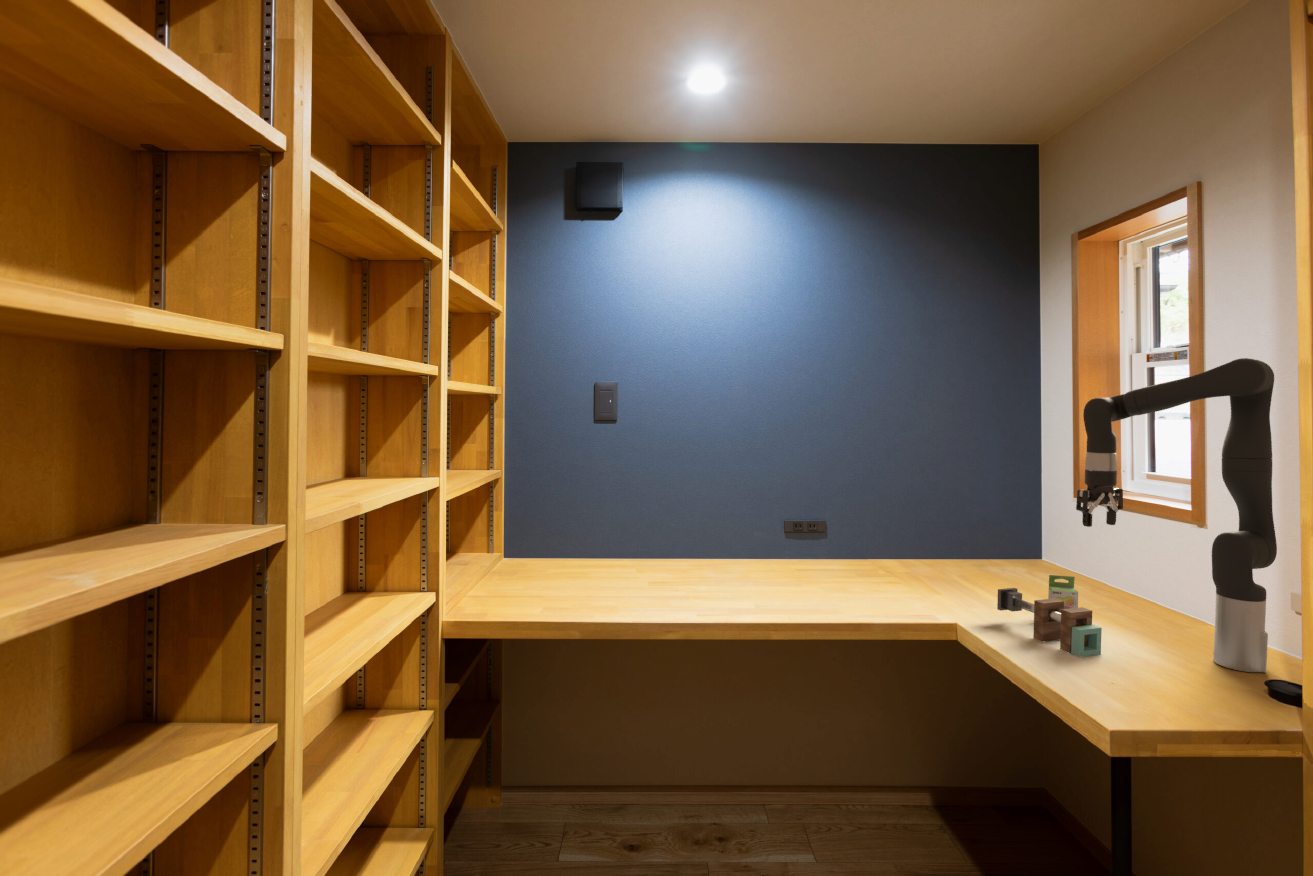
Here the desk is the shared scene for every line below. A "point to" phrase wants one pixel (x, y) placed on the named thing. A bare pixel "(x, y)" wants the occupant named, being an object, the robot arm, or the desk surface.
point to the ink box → (1063, 591)
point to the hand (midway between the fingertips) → (1099, 525)
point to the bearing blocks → (1056, 630)
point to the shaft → (1020, 603)
